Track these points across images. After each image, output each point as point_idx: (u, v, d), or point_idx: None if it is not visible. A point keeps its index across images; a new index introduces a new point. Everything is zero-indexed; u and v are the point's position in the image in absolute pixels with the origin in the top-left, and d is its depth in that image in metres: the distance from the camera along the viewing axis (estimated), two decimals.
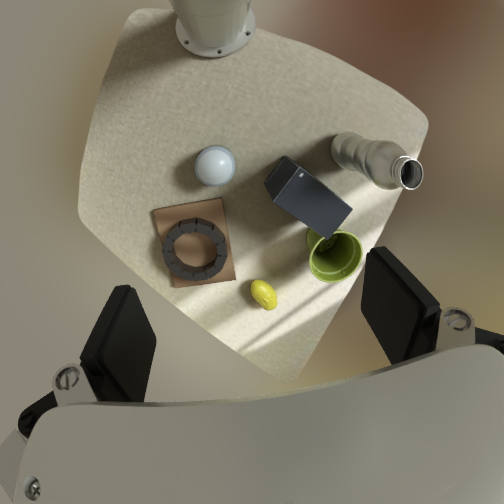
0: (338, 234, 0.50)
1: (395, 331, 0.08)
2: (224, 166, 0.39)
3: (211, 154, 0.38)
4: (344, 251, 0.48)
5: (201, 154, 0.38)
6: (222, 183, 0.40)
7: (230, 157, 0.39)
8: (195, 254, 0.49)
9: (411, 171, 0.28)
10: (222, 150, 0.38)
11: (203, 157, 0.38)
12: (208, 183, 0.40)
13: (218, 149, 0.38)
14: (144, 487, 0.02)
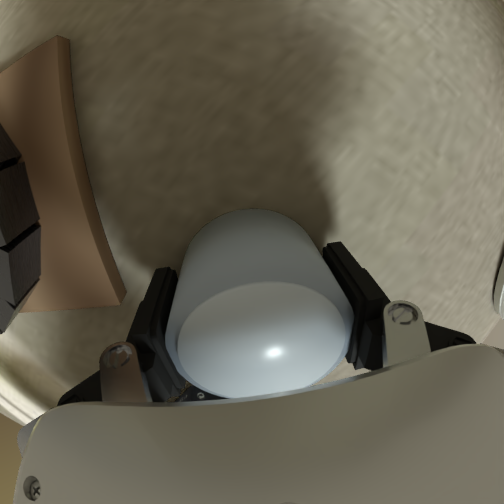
0: None
1: None
2: (265, 381, 0.09)
3: (328, 340, 0.08)
4: None
5: (336, 298, 0.07)
6: (186, 374, 0.08)
7: None
8: None
9: None
10: (332, 365, 0.09)
11: (322, 312, 0.07)
12: (178, 331, 0.07)
13: (340, 354, 0.09)
14: (144, 487, 0.02)
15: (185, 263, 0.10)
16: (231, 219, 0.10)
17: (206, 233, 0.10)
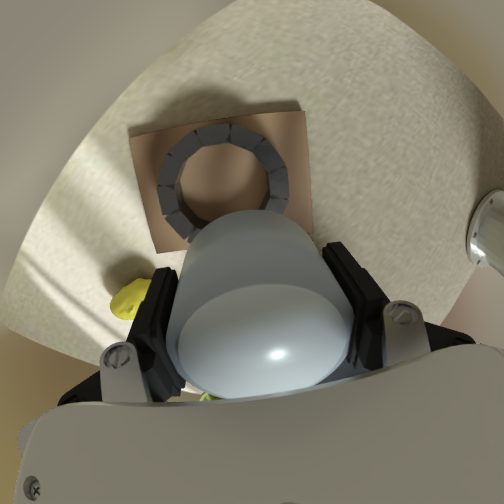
0: None
1: None
2: (265, 382, 0.09)
3: (329, 341, 0.08)
4: None
5: (337, 299, 0.07)
6: (187, 375, 0.08)
7: None
8: (207, 182, 0.24)
9: None
10: (332, 367, 0.09)
11: (323, 313, 0.07)
12: (179, 333, 0.07)
13: (340, 355, 0.09)
14: (144, 487, 0.02)
15: (185, 264, 0.09)
16: (231, 220, 0.10)
17: (206, 234, 0.10)
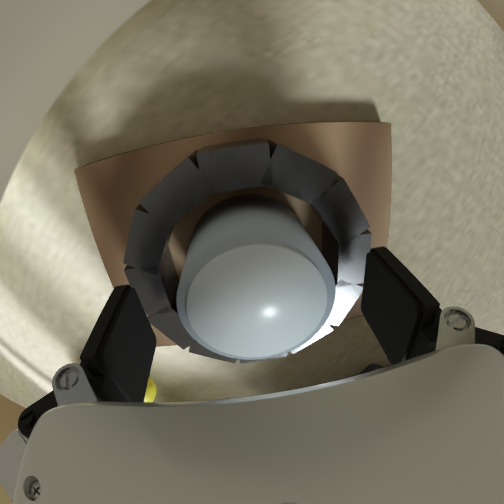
0: None
1: (395, 331, 0.08)
2: (260, 338, 0.11)
3: (312, 299, 0.10)
4: None
5: (317, 260, 0.09)
6: (192, 331, 0.10)
7: (289, 347, 0.11)
8: None
9: None
10: (318, 325, 0.11)
11: (305, 271, 0.09)
12: (188, 288, 0.09)
13: (324, 314, 0.11)
14: (144, 487, 0.02)
15: (193, 237, 0.11)
16: (231, 202, 0.12)
17: (210, 213, 0.12)
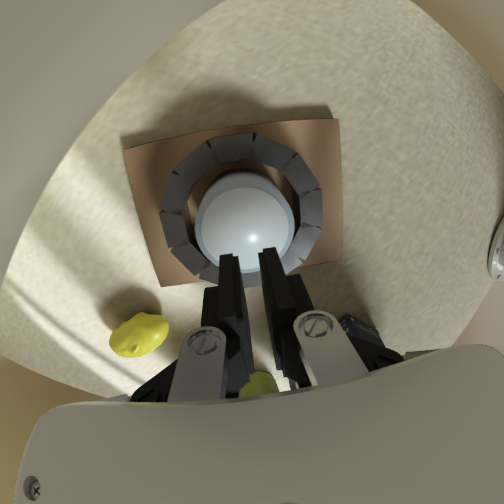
0: None
1: (271, 330, 0.09)
2: (247, 252, 0.17)
3: (278, 224, 0.16)
4: None
5: (279, 198, 0.16)
6: (203, 247, 0.17)
7: None
8: None
9: None
10: (285, 246, 0.17)
11: (272, 204, 0.16)
12: (202, 215, 0.16)
13: (288, 237, 0.17)
14: (144, 487, 0.02)
15: (205, 192, 0.18)
16: (230, 171, 0.18)
17: (216, 178, 0.18)
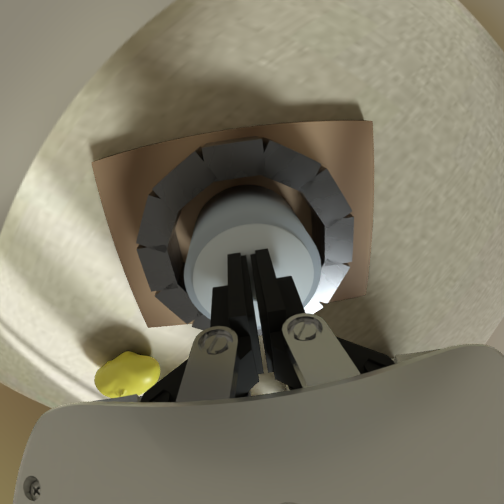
0: None
1: None
2: (257, 308, 0.12)
3: (300, 271, 0.12)
4: None
5: (303, 237, 0.11)
6: (198, 303, 0.12)
7: None
8: None
9: None
10: (308, 297, 0.13)
11: (293, 246, 0.11)
12: (194, 263, 0.11)
13: (312, 286, 0.12)
14: (144, 487, 0.02)
15: (197, 223, 0.13)
16: (230, 191, 0.14)
17: (212, 202, 0.14)
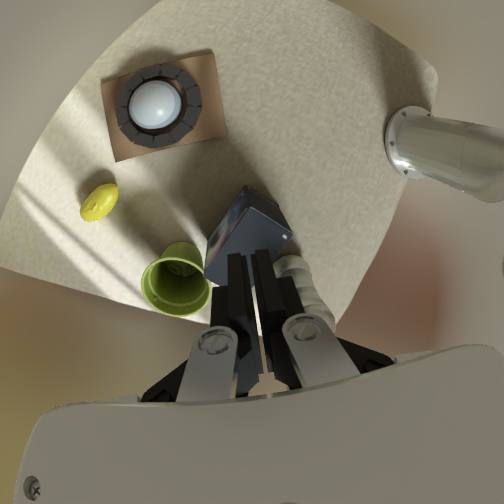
0: (189, 277, 0.43)
1: None
2: (154, 115, 0.27)
3: (169, 98, 0.27)
4: (175, 291, 0.40)
5: (169, 86, 0.26)
6: (133, 117, 0.27)
7: (166, 121, 0.28)
8: None
9: None
10: (174, 110, 0.28)
11: (165, 89, 0.26)
12: (132, 100, 0.26)
13: (175, 105, 0.27)
14: (144, 487, 0.02)
15: None
16: None
17: None
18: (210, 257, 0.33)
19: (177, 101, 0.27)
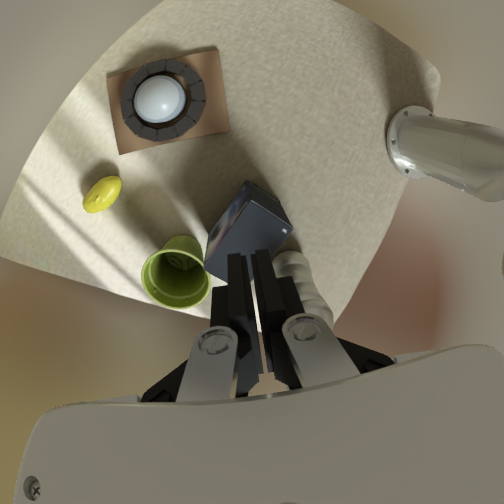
0: (189, 271, 0.43)
1: None
2: (159, 109, 0.28)
3: (173, 92, 0.27)
4: (175, 284, 0.41)
5: (173, 81, 0.26)
6: (138, 111, 0.28)
7: (170, 115, 0.28)
8: None
9: None
10: (179, 104, 0.28)
11: (169, 83, 0.26)
12: (137, 95, 0.27)
13: (180, 99, 0.28)
14: (144, 487, 0.02)
15: None
16: None
17: None
18: (210, 250, 0.33)
19: (181, 95, 0.28)
